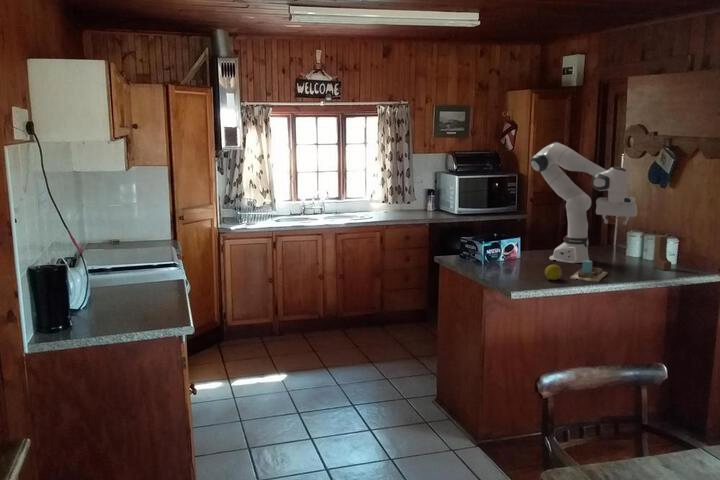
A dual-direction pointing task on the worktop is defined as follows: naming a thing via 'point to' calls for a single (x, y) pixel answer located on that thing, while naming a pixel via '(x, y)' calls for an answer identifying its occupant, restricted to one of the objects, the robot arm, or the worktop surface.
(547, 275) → the lemon
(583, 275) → the keyhole guide
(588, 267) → the teal peg
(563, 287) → the worktop surface
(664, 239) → the wooden block
